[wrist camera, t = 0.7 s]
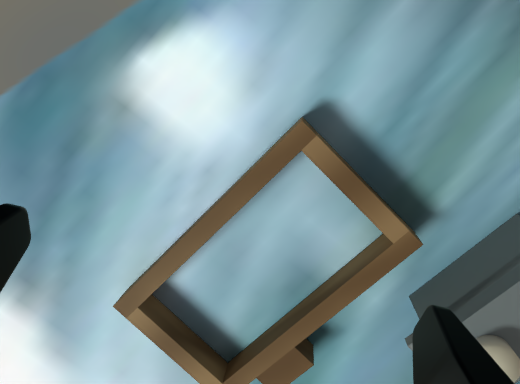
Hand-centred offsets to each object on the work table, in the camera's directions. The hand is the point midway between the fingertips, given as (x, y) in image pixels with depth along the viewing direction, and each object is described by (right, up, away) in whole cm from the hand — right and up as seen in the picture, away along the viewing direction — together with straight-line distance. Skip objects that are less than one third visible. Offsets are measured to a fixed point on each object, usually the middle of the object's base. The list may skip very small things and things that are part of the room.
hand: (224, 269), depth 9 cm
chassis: (+1, -2, +14) cm, 15 cm away
